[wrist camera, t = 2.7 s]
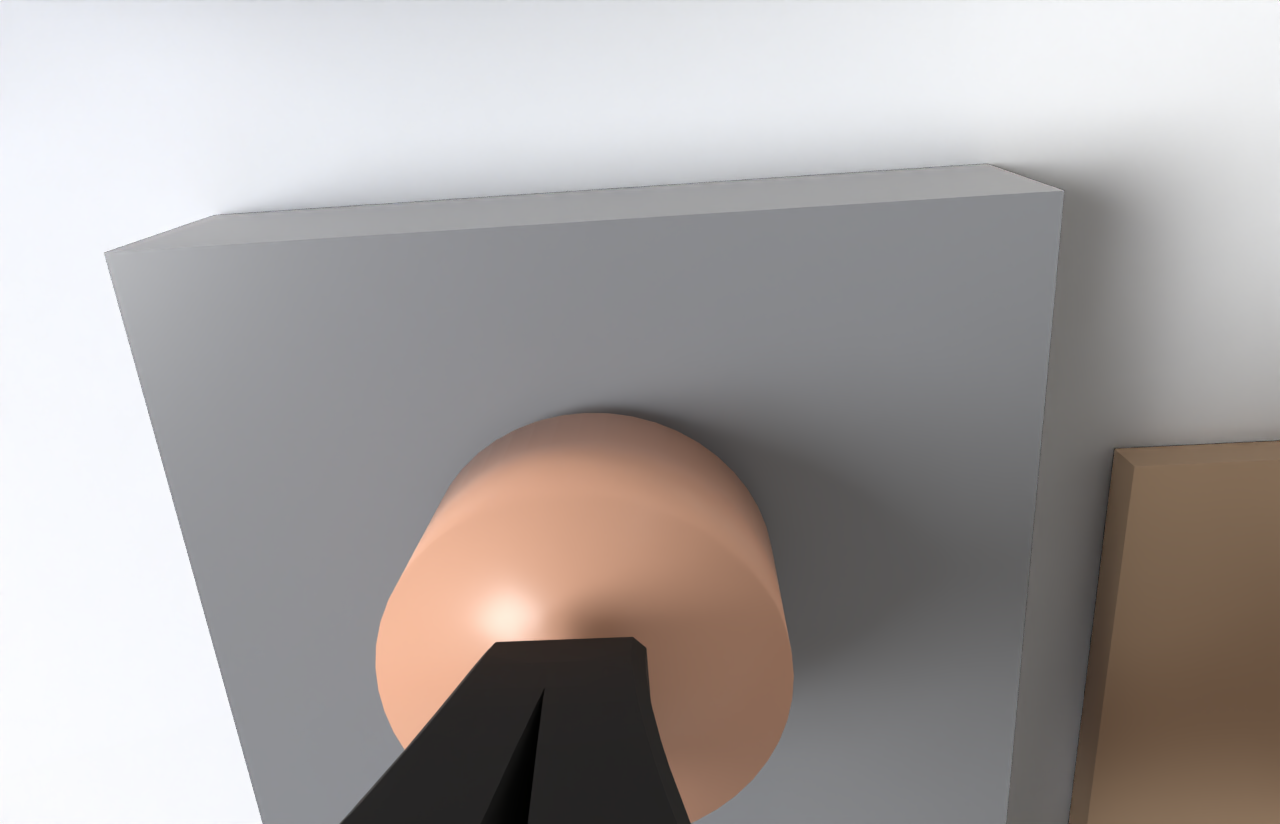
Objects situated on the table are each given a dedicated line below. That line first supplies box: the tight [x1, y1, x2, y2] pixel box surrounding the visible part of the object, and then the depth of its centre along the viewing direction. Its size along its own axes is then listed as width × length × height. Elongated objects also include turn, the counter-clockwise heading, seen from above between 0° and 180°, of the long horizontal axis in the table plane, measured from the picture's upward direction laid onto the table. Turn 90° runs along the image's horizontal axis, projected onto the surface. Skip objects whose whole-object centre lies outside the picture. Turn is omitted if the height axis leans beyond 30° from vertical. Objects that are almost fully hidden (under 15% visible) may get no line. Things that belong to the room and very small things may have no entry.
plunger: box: [375, 413, 794, 823], centre depth 10 cm, size 4×4×2 cm
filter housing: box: [104, 164, 1065, 824], centre depth 14 cm, size 16×10×2 cm, turn 4°
